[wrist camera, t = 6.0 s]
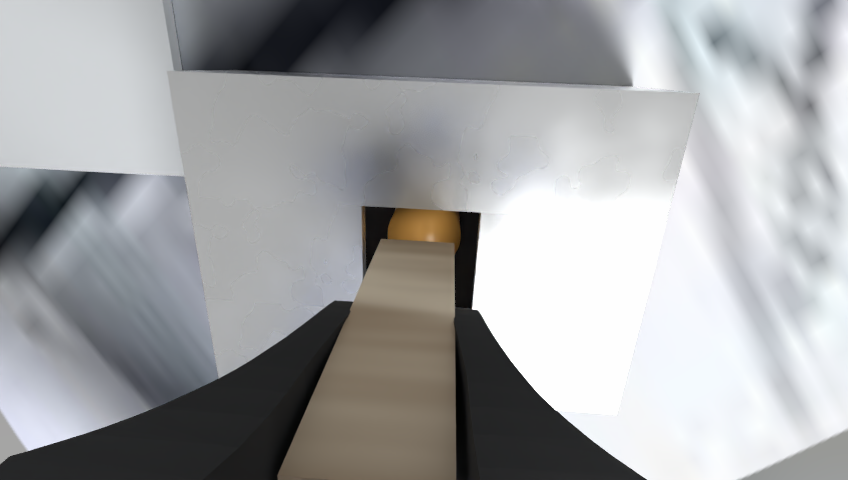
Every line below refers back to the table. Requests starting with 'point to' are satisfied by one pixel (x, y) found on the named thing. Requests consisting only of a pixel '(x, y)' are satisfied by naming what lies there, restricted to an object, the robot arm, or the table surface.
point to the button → (425, 226)
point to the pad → (88, 86)
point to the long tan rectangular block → (387, 377)
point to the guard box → (435, 205)
